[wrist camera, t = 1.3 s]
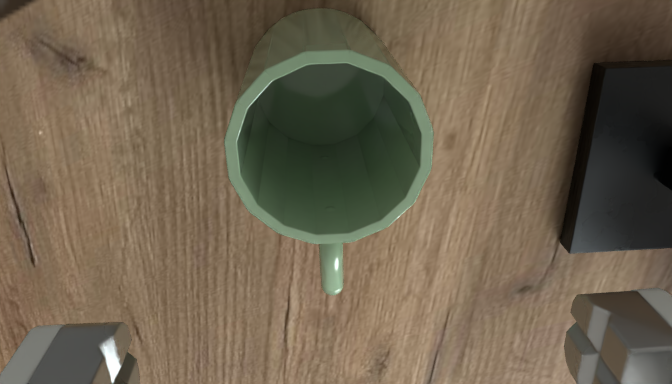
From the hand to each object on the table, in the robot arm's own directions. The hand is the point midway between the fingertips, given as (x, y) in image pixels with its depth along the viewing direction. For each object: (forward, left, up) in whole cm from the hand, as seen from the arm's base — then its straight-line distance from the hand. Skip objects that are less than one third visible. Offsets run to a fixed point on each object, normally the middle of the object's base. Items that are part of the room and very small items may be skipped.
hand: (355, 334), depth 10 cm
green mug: (+2, 0, -17) cm, 17 cm away
